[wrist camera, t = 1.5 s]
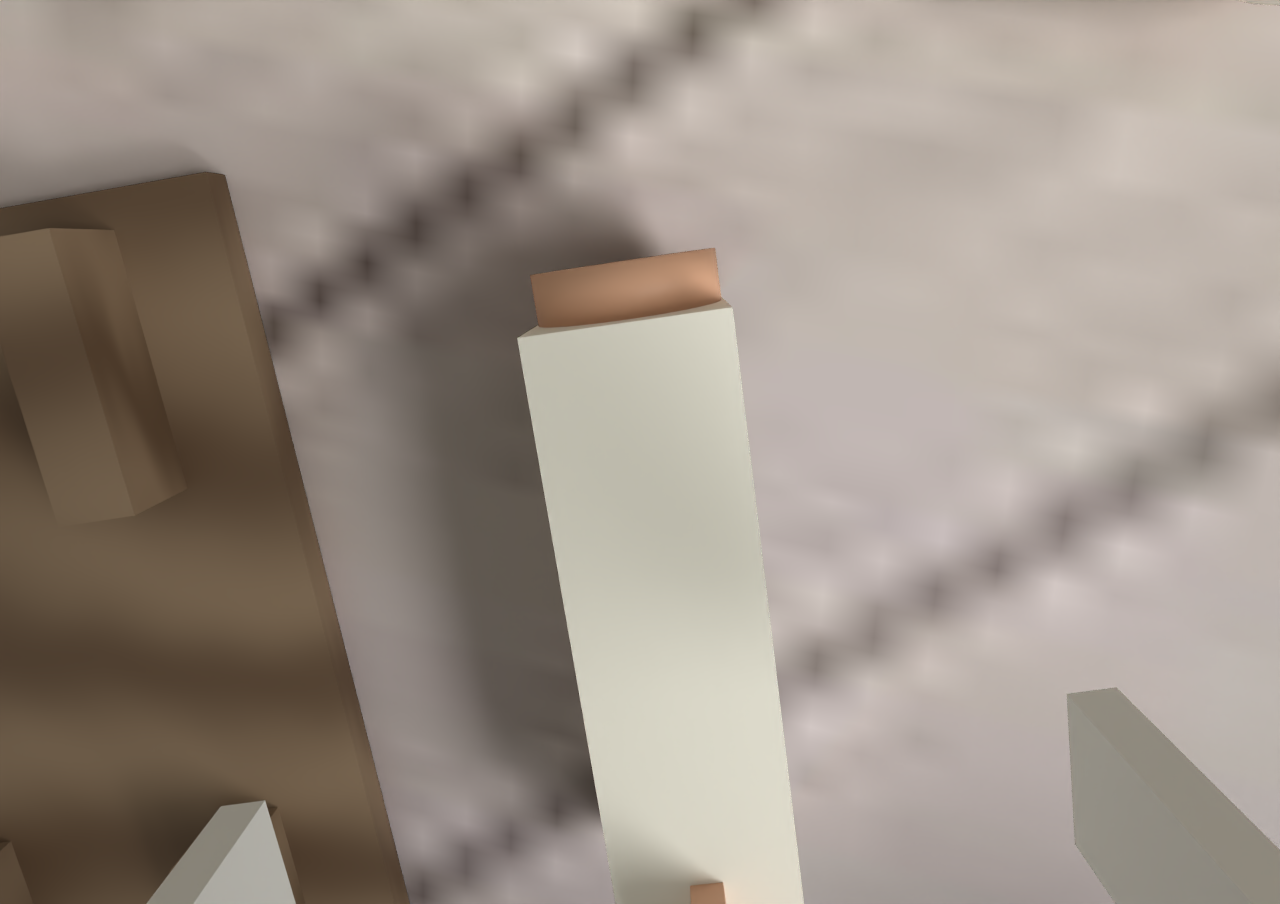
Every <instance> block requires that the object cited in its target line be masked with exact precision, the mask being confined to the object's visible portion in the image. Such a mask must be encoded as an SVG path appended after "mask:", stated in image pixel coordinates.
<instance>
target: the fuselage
mask: <svg viewBox="0 0 1280 904" xmlns="http://www.w3.org/2000/svg"><path fill="white" fill-rule="evenodd" d="M530 278H531V284H532V289H533V295H534V301H535V307H536V313H537V319H538V326H536V327H534V328H533V329H531V330H529V331H528V332H526V333H525V334H523V335H521V336H520V337H518V338H517V340H518V346H519V352H520V357H521V363H522V369H523V375H524V380H525V386H526V392H527V397H528V403H529V409H530V415H531V420H532V426H533V432H534V438H535V443H536V449H537V455H538V461H539V466H540V472H541V478H542V484H543V489H544V495H545V501H546V507H547V512H548V518H549V524H550V529H551V535H552V541H553V547H554V552H555V558H556V564H557V570H558V575H559V581H560V587H561V593H562V598H563V604H564V610H565V616H566V621H567V627H568V633H569V639H570V644H571V650H572V656H573V661H574V667H575V673H576V679H577V684H578V690H579V696H580V702H581V707H582V713H583V719H584V725H585V730H586V736H587V742H588V748H589V753H590V759H591V765H592V770H593V776H594V782H595V788H596V793H597V799H598V805H599V811H600V816H601V822H602V828H603V834H604V839H605V845H606V851H607V857H608V862H609V868H610V874H611V880H612V885H613V891H614V897H615V902H616V904H804V900H803V892H802V883H801V875H800V866H799V858H798V850H797V841H796V833H795V825H794V816H793V808H792V800H791V791H790V783H789V775H788V766H787V758H786V750H785V741H784V733H783V725H782V716H781V708H780V700H779V691H778V683H777V675H776V666H775V658H774V650H773V641H772V633H771V625H770V616H769V608H768V600H767V591H766V583H765V575H764V566H763V558H762V550H761V541H760V533H759V525H758V516H757V508H756V500H755V491H754V483H753V475H752V466H751V458H750V450H749V441H748V433H747V425H746V416H745V408H744V400H743V391H742V383H741V375H740V366H739V358H738V349H737V341H736V333H735V324H734V316H733V308H732V306H731V305H729V304H728V303H727V302H726V301H725V300H724V299H723V298H722V297H721V293H720V285H719V276H718V268H717V260H716V252H715V248H709V249H701V250H694V251H687V252H679V253H672V254H665V255H658V256H651V257H644V258H638V259H631V260H624V261H617V262H610V263H604V264H597V265H591V266H584V267H577V268H571V269H564V270H558V271H552V272H546V273H540V274H534V275H530Z"/></svg>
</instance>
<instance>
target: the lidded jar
mask: <svg viewBox="0 0 1280 904" xmlns="http://www.w3.org/2000/svg"><path fill="white" fill-rule="evenodd" d="M1238 1H1242V2H1246V3H1251V4H1259V5H1277V6H1280V0H1238Z"/></svg>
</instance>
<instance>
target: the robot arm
mask: <svg viewBox="0 0 1280 904" xmlns="http://www.w3.org/2000/svg"><path fill="white" fill-rule="evenodd" d="M1067 707H1068V726H1069V744H1070V763H1071V781H1072V800H1073V818H1074V837H1075V845H1076V846H1077V848H1078V849H1079V851H1080V852H1081V854H1082V855H1083V857H1084V858H1085V860H1086V861H1087V863H1088V864H1089V865H1090V867H1091V868H1092V870H1093V871H1094V873H1095V874H1096V876H1097V877H1098V879H1099V880H1100V882H1101V883H1102V885H1103V886H1104V887H1105V889H1106V890H1107V892H1108V893H1109V895H1110V896H1111V898H1112V899H1113V901H1114V902H1115V904H1280V850H1279V849H1278V848H1277V847H1276V846H1275V845H1274V844H1273V843H1272V842H1271V841H1270V840H1269V839H1268V838H1267V837H1266V836H1265V835H1264V834H1263V833H1262V832H1261V831H1260V830H1259V829H1258V828H1257V827H1256V826H1255V825H1254V824H1253V823H1252V822H1251V821H1250V820H1249V819H1248V818H1247V817H1246V816H1245V815H1244V814H1243V813H1242V812H1241V811H1240V810H1239V809H1238V808H1237V807H1236V806H1235V805H1234V804H1233V803H1232V802H1231V801H1230V800H1229V799H1228V798H1227V797H1226V796H1225V795H1224V794H1223V793H1222V792H1221V791H1220V790H1219V789H1218V788H1217V787H1216V786H1215V785H1214V784H1213V783H1212V782H1211V781H1210V780H1209V779H1208V778H1207V777H1206V776H1205V775H1204V774H1203V773H1202V772H1201V771H1200V770H1199V769H1198V768H1197V767H1196V766H1195V765H1194V764H1193V763H1192V762H1191V761H1190V760H1189V759H1188V758H1187V757H1186V756H1185V755H1184V754H1183V753H1182V752H1181V751H1180V750H1179V749H1178V748H1177V747H1176V746H1175V745H1174V744H1173V743H1172V742H1171V741H1170V740H1169V739H1168V738H1167V737H1166V736H1165V735H1164V734H1163V733H1162V732H1161V731H1160V730H1159V729H1158V728H1157V727H1156V726H1155V725H1154V724H1153V723H1152V722H1151V721H1149V720H1148V719H1147V718H1146V717H1145V716H1144V715H1143V714H1142V713H1141V712H1140V711H1139V710H1138V709H1137V708H1136V707H1135V706H1134V705H1133V704H1132V703H1131V702H1130V701H1129V700H1128V699H1127V698H1126V697H1125V696H1124V695H1123V694H1122V693H1121V692H1120V691H1119V690H1118V689H1117V688H1109V689H1101V690H1094V691H1086V692H1078V693H1071V694H1067ZM147 904H296V902H295V899H294V896H293V892H292V889H291V886H290V882H289V879H288V876H287V872H286V869H285V865H284V862H283V859H282V855H281V852H280V849H279V845H278V842H277V839H276V835H275V832H274V828H273V825H272V822H271V818H270V815H269V812H268V808H267V805H266V802H265V800H264V801H257V802H249V803H241V804H234V805H226V806H221V807H220V808H219V809H218V811H217V812H216V813H215V815H214V816H213V817H212V819H211V820H210V821H209V822H208V824H207V825H206V826H205V828H204V829H203V830H202V832H201V833H200V834H199V836H198V837H197V838H196V839H195V841H194V842H193V843H192V845H191V846H190V847H189V849H188V850H187V851H186V853H185V854H184V855H183V856H182V858H181V859H180V860H179V862H178V863H177V864H176V866H175V867H174V868H173V870H172V871H171V872H170V873H169V875H168V876H167V877H166V879H165V880H164V881H163V883H162V884H161V885H160V887H159V888H158V889H157V890H156V892H155V893H154V894H153V896H152V897H151V898H150V900H149V901H148V902H147Z"/></svg>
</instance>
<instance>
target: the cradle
mask: <svg viewBox="0 0 1280 904" xmlns="http://www.w3.org/2000/svg"><path fill="white" fill-rule="evenodd" d="M264 800H265V802H266V805H267V808H268V812H269V815H270V818H271V822H272V825H273V828H274V832H275V835H276V839H277V842H278V845H279V849H280V852H281V855H282V859H283V862H284V865H285V869H286V872H287V876H288V879H289V882H290V886H291V889H292V892H293V896H294V899H295V902H296V904H410V903H409V899H408V895H407V891H406V887H405V883H404V879H403V875H402V871H401V867H400V863H399V859H398V855H397V851H396V848H395V844H394V840H393V836H392V832H391V828H390V824H389V820H388V816H387V812H386V808H385V804H384V800H383V796H382V792H381V788H380V784H379V781H378V777H377V773H376V769H375V765H374V761H373V757H372V753H371V749H370V745H369V741H368V737H367V733H366V729H365V725H364V721H363V718H362V714H361V710H360V706H359V702H358V698H357V694H356V690H355V686H354V682H353V678H352V674H351V670H350V666H349V662H348V658H347V654H346V651H345V647H344V643H343V639H342V635H341V631H340V627H339V623H338V619H337V615H336V611H335V607H334V603H333V599H332V595H331V591H330V587H329V584H328V580H327V576H326V572H325V568H324V564H323V560H322V556H321V552H320V548H319V544H318V540H317V536H316V532H315V528H314V524H313V521H312V517H311V513H310V509H309V505H308V501H307V497H306V493H305V489H304V485H303V481H302V477H301V473H300V469H299V465H298V461H297V457H296V454H295V450H294V446H293V442H292V438H291V434H290V430H289V426H288V422H287V418H286V414H285V410H284V406H283V402H282V398H281V394H280V390H279V387H278V383H277V379H276V375H275V371H274V367H273V363H272V359H271V355H270V351H269V347H268V343H267V339H266V335H265V331H264V327H263V323H262V320H261V316H260V312H259V308H258V304H257V300H256V296H255V292H254V288H253V284H252V280H251V276H250V272H249V268H248V264H247V260H246V257H245V253H244V249H243V245H242V241H241V237H240V233H239V229H238V225H237V221H236V217H235V213H234V209H233V205H232V201H231V197H230V193H229V190H228V186H227V182H226V178H225V175H222V174H215V173H209V172H203V173H197V174H191V175H186V176H180V177H174V178H169V179H163V180H158V181H152V182H146V183H141V184H135V185H129V186H124V187H118V188H112V189H107V190H101V191H95V192H90V193H84V194H78V195H73V196H67V197H62V198H56V199H50V200H45V201H39V202H33V203H28V204H22V205H16V206H11V207H5V208H0V904H147V902H148V901H149V900H150V898H151V897H152V896H153V894H154V893H155V892H156V890H157V889H158V888H159V887H160V885H161V884H162V883H163V881H164V880H165V879H166V877H167V876H168V875H169V873H170V872H171V871H172V870H173V868H174V867H175V866H176V864H177V863H178V862H179V860H180V859H181V858H182V856H183V855H184V854H185V853H186V851H187V850H188V849H189V847H190V846H191V845H192V843H193V842H194V841H195V839H196V838H197V837H198V836H199V834H200V833H201V832H202V830H203V829H204V828H205V826H206V825H207V824H208V822H209V821H210V820H211V819H212V817H213V816H214V815H215V813H216V812H217V811H218V809H219V808H220V807H221V806H226V805H234V804H241V803H249V802H257V801H264Z"/></svg>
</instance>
